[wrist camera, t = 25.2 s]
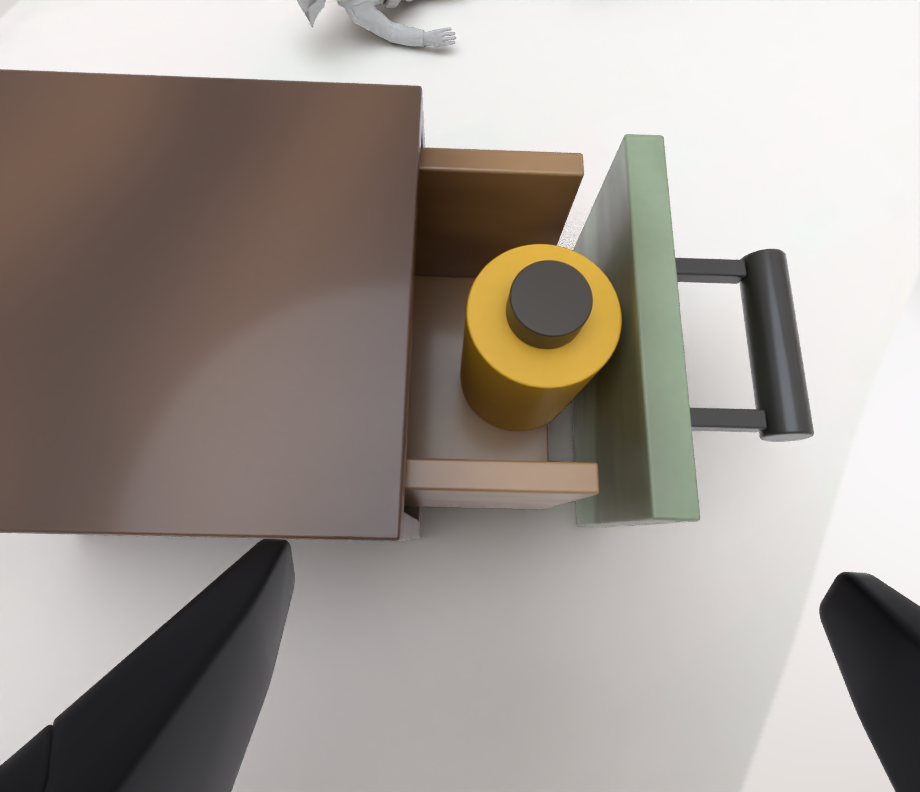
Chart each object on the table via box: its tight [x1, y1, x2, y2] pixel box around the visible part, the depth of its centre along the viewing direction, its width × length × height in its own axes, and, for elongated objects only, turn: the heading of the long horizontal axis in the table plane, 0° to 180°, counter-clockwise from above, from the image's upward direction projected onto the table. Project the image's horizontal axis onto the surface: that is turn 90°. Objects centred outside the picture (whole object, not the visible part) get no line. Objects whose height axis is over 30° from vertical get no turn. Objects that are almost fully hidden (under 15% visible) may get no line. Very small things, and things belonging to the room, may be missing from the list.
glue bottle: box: [460, 244, 622, 431], centre depth 17 cm, size 4×4×7 cm
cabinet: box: [0, 69, 425, 541], centre depth 18 cm, size 13×12×9 cm
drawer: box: [404, 134, 814, 527], centre depth 18 cm, size 17×11×8 cm, turn 89°
